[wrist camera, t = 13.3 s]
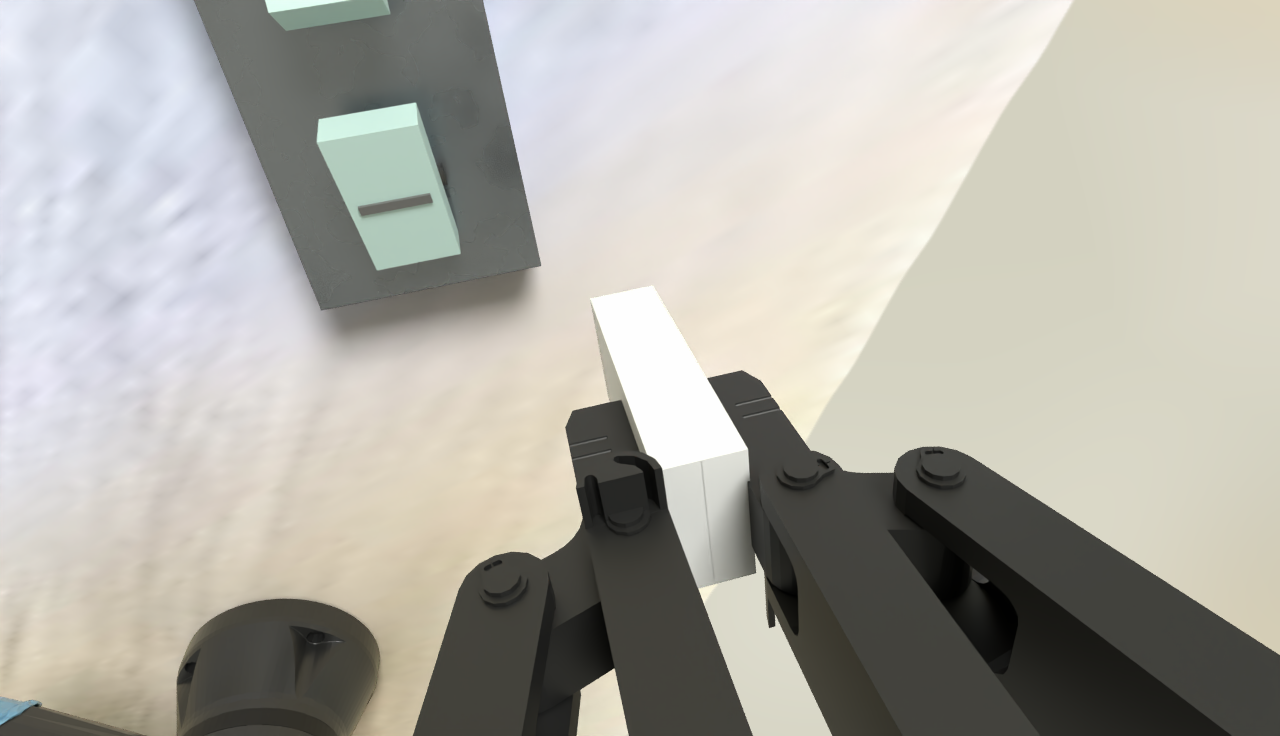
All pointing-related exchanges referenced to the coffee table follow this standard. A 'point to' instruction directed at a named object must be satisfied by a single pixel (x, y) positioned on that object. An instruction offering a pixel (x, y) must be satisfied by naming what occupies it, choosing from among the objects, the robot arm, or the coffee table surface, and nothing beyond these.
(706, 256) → the coffee table surface
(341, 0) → the switch
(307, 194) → the console
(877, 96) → the coffee table surface
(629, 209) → the coffee table surface
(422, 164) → the switch
